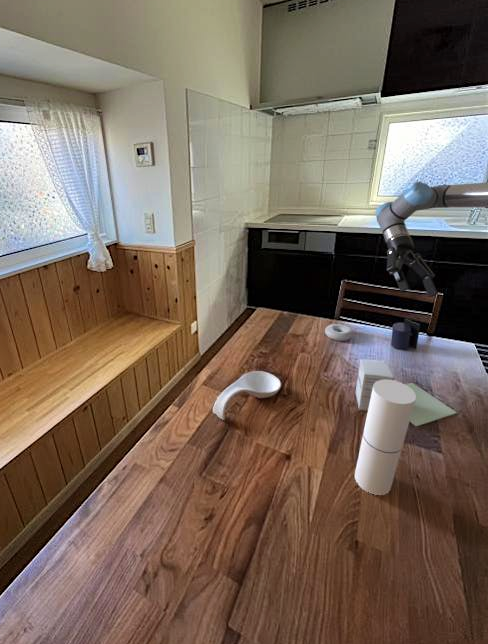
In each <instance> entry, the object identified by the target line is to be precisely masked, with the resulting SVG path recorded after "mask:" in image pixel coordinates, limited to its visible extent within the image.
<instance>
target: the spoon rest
mask: <svg viewBox="0 0 488 644" xmlns="http://www.w3.org/2000/svg"><path fill="white" fill-rule="evenodd" d="M281 388H282V382H281V380H280V379H279V378H278V377H277V376H275V375H273V374H272V373H270V372H267V371H262V370H255V371H249V372H246V373H244V374H243V375H242V376H240V377H239V378H238V379H236V380H235V381H234V382H233V383H231V384H230V385H229V386H227V387H226V388H225V389H224V390H222V392H220V394H219V396H217V398H216V400H215V402H214V404H213V407H212V413H213V414H214V415H215V414H216V415H217V416H216V415H215V416H216V417H218V418H219V419H220V420H221V419H222V420H221V421H223V420H224V421H226V420H225V419H226V407H227V405H228V403H229V401H230V400H231V399H232V398H233V397H234V396H235V395H237V394H239V393H241V392H242V393H243V392H244V393H246V394H248V395H250V396H252V397H254V398H256V397H257V399H267V398H270V397H273V396H274V395H277V393H278V392H279V391H280V389H281Z"/></svg>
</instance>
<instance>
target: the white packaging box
mask: <svg viewBox="0 0 488 644" xmlns="http://www.w3.org/2000/svg"><path fill="white" fill-rule="evenodd" d="M379 380H394V381H395V375H394V373H393V369H392V368H391V365H390V362H389V361H387V360H376V359H365V358H363V359H361V358H360V360H359V367H358V375H357V381H356V387H355V396H356V401H357V406H358V410H359V411H366V412H368V408H369V403H370V398H371V394H372V389H373V385H374V383H375V382H377V381H379Z"/></svg>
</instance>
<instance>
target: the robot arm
mask: <svg viewBox="0 0 488 644" xmlns="http://www.w3.org/2000/svg"><path fill="white" fill-rule="evenodd" d="M443 208H444V209H447V208H488V181H487V182H475V183H473V182H471V183H459V184H438V185H435V186H434V185H433V186H430V185H429V184H427V183H425V182H421V181H415V182H413V183H412V184H410V186H409V187H406V189H404V191H403V192H402V193H401V194H399V196H398V197H397V198H396V199H395V200H394V201H388V202H384V203H383V204H381V205H379V206H378V207H377V208H376V210H375V212H374V213H375V218H376V222H377V224H378V226H379V228H380V230H381V233H382V236H383V238H384V242H385V243H386V245H387V250H386V256H387V257H386V258H387V259H386V271H387V272H389V275H390V276H394V279H395V281H396V283H397V286H398V289H399V291H400V293H404V292H405V291H407V290H409V289H410V286H409V283H408V281H407V278H406V276H405V275H406V274H405V273H404V271H403V270H402V267H403V265H407V267H409V268H412V270H414V272H416V274H418V275H419V277H420V278H421V279H422V284H423V286H424V288H425V291H426V293H427V296H428V297H429V298H433V297H435V296H437V295H438V294H439V292H438V290H437V288H436V285H435V283H434V280H433V278H435V277H436V274H435V273H434V272H433V270H432V269H431V268H430V267H429V265H428V264H427V263H426V261H425V260H424V259H423V257H422V256H421V254H420V253H419V252H416V253H414V251H413V248H414V245H415V244H414V241H413V239H412V237H411V234H410V232H409V230H408V227H407V225H406V223H405V221H406V220H407V219H409V218H410V217H411V216H412V215H413V214H414V213H416V212H418V211H423V210H430V209H443Z"/></svg>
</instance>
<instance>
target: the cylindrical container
mask: <svg viewBox="0 0 488 644" xmlns="http://www.w3.org/2000/svg"><path fill="white" fill-rule="evenodd" d="M415 400H416V394H415V392H414V391H413V390H412V389H411V388H410V387H408V386H407V385H405V383H404V382H403V383H402V382H400V381H398V380H395V379H394V380H379V381H377V382H375V383H374V385H373V389H372V394H371V398H370V403H369V408H368V411H367V414H366V417H365V418H366V419H365V423H364V428H363V433H362V436H361V442H360V447H359V453H358V456H357V461H356V467H355V471H354V480H355V482H356V484H357V483H358V484H357V485H358V486H359V487H360V489H361V490H363V491H364V490H365V492H366V493H368V492H369V493H368V494H370V493H371V494H370V495H372V494H374V495H373V496H376V495H380V496H379V497H382V496H381V495H383V496H386V495H388V494H389V493H390V492H389V491H391V489H392V486H393V481H394V479H395V475H396V471H397V467H398V464H399V460H400V457H401V453H402V450H403V446H404V443H405V439H406V436H407V432H408V428H409V425H410V418H411V414H412V410H413V407H414V403H415ZM387 493H388V494H387ZM385 494H386V495H385Z"/></svg>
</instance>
